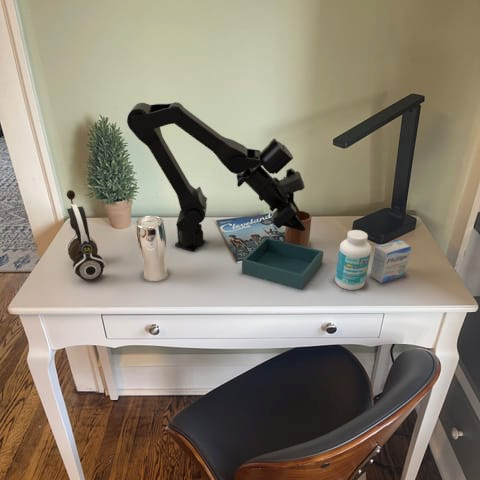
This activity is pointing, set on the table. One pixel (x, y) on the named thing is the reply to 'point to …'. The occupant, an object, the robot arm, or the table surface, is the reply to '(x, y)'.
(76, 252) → the headset
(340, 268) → the pill bottle
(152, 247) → the beer glass
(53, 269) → the table surface
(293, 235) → the cup
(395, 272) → the medicine box
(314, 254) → the tray
